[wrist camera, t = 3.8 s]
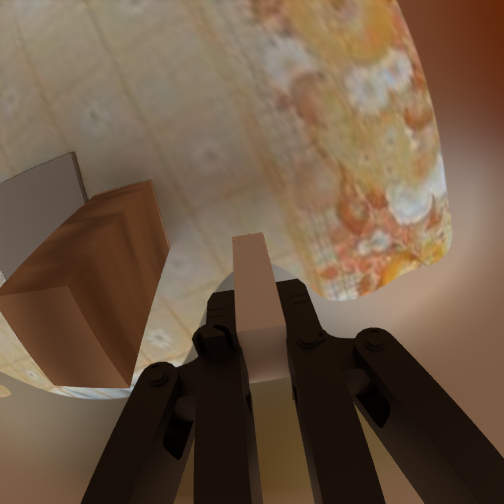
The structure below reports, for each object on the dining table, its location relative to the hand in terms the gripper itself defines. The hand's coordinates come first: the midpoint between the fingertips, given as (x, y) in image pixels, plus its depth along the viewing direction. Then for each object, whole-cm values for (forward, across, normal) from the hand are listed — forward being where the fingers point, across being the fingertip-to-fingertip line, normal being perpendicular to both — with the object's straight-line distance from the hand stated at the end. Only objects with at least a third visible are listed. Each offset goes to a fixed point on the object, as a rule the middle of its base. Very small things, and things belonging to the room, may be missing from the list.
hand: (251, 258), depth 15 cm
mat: (+9, -20, 0) cm, 22 cm away
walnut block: (+9, -9, 0) cm, 13 cm away
